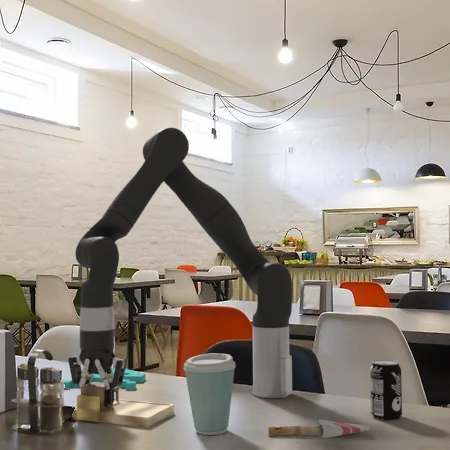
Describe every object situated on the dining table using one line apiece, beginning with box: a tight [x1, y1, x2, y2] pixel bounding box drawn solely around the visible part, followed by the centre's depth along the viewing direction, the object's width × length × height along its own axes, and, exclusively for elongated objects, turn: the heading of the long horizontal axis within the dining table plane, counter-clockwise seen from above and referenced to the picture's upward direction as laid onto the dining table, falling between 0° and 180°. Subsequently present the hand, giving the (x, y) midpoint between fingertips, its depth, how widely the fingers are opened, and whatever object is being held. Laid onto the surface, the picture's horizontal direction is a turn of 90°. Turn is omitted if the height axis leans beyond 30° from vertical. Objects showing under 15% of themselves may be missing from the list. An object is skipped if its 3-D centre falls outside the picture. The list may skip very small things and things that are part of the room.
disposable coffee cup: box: [182, 352, 236, 436], centre depth 130 cm, size 11×11×15 cm
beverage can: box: [369, 358, 403, 421], centre depth 139 cm, size 7×7×12 cm
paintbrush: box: [267, 419, 372, 439], centre depth 126 cm, size 4×3×20 cm
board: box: [72, 398, 175, 428], centre depth 142 cm, size 20×12×2 cm, turn 68°
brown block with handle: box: [76, 382, 120, 423], centre depth 143 cm, size 5×13×7 cm, turn 158°
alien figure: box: [62, 367, 146, 391], centre depth 179 cm, size 20×2×20 cm
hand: (97, 404), depth 141 cm, fingers closed on brown block with handle, 5 cm apart
